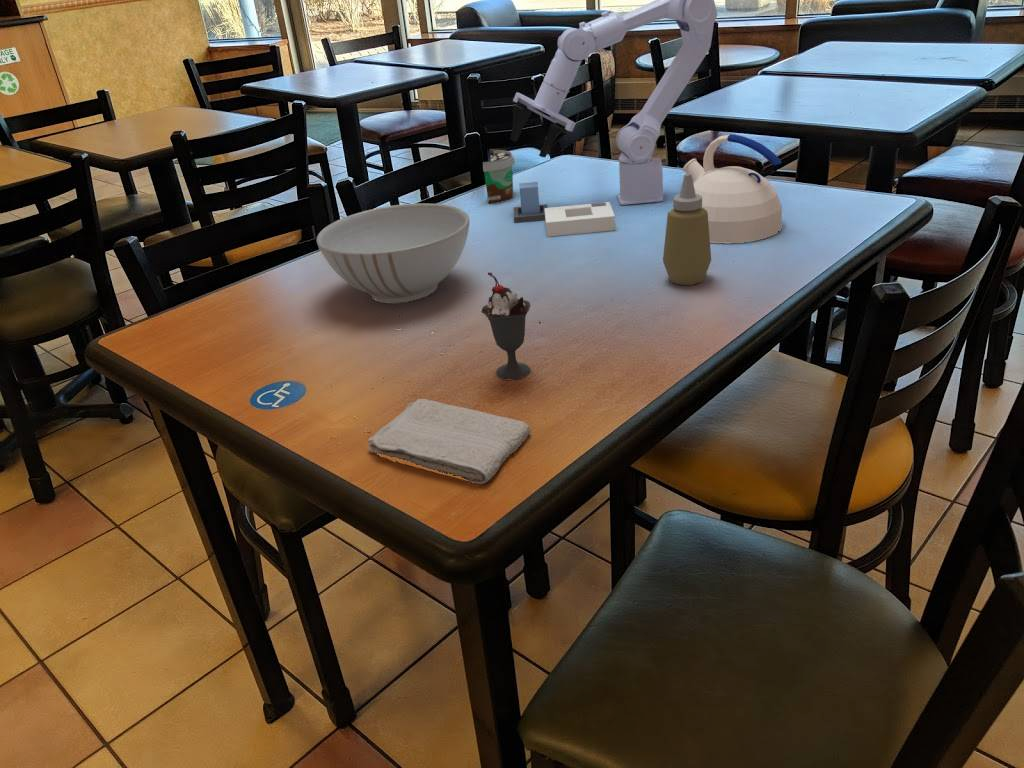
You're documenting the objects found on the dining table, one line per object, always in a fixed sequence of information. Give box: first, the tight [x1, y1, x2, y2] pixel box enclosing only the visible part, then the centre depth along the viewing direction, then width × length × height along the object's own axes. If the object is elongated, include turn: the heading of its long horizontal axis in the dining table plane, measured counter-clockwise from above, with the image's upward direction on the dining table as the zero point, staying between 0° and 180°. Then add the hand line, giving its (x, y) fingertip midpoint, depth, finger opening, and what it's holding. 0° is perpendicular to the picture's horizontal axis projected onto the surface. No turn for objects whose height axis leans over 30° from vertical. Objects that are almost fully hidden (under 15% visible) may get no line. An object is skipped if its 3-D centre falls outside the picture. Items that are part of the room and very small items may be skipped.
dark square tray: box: [513, 203, 549, 224], centre depth 174 cm, size 8×8×1 cm
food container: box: [482, 149, 515, 204], centre depth 187 cm, size 12×6×10 cm, turn 168°
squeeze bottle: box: [662, 173, 712, 286], centre depth 130 cm, size 8×8×18 cm
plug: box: [518, 181, 541, 215], centre depth 172 cm, size 4×4×7 cm
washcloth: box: [367, 398, 531, 485], centre depth 96 cm, size 12×18×3 cm, turn 62°
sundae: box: [481, 272, 532, 380], centre depth 108 cm, size 7×7×15 cm
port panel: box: [544, 201, 616, 237], centre depth 164 cm, size 14×10×3 cm
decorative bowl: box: [316, 202, 470, 304], centre depth 140 cm, size 27×27×12 cm
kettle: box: [682, 133, 783, 244], centre depth 151 cm, size 20×21×18 cm
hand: (527, 148), depth 169 cm, fingers open, 7 cm apart
